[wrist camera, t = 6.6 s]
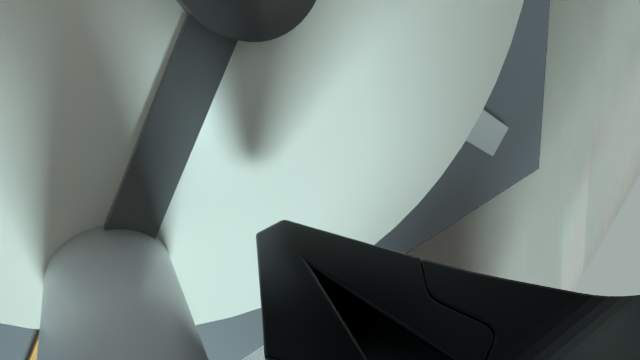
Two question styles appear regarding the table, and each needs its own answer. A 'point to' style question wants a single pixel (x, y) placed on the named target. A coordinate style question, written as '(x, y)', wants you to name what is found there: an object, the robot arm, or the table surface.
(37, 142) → the dial
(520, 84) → the dial board
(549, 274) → the table surface
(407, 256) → the robot arm
